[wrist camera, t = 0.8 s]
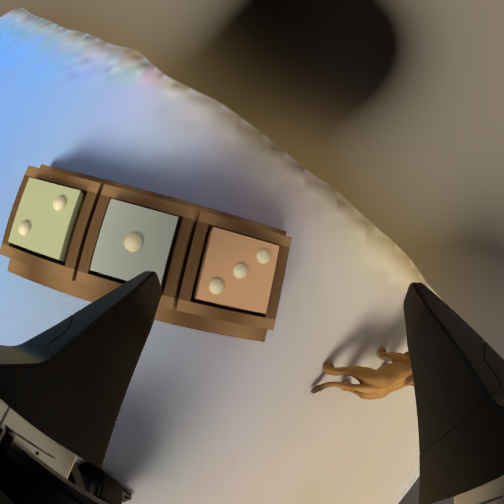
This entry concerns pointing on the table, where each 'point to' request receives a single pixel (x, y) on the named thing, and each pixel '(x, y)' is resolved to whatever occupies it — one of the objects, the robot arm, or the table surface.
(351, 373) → the lion figurine
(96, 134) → the table surface
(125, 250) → the button
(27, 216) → the button
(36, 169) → the button board
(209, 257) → the three-pip button
